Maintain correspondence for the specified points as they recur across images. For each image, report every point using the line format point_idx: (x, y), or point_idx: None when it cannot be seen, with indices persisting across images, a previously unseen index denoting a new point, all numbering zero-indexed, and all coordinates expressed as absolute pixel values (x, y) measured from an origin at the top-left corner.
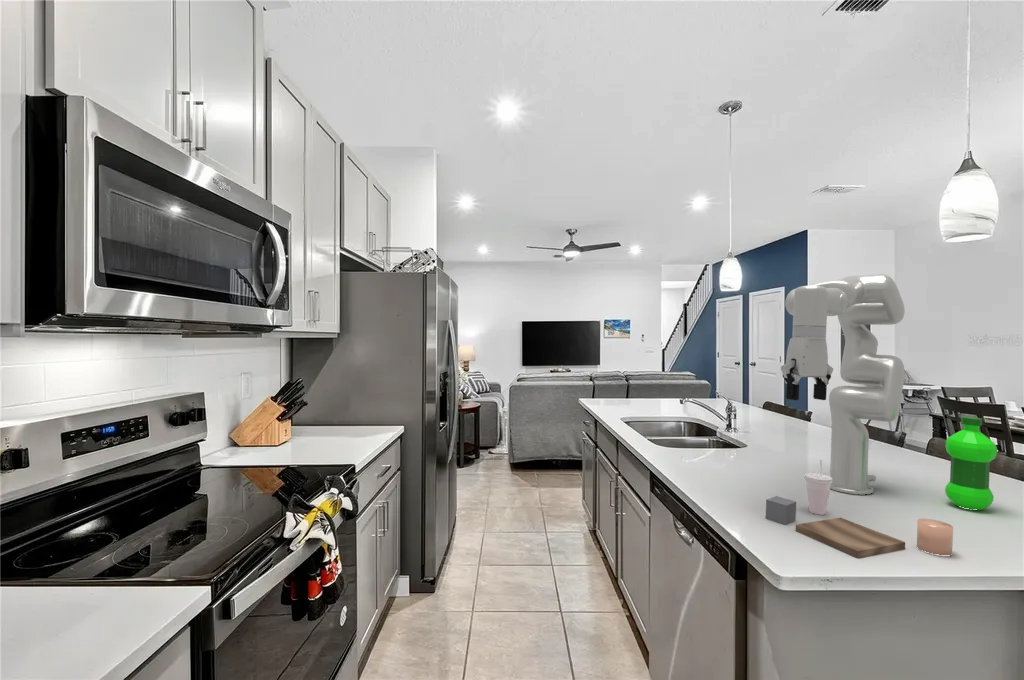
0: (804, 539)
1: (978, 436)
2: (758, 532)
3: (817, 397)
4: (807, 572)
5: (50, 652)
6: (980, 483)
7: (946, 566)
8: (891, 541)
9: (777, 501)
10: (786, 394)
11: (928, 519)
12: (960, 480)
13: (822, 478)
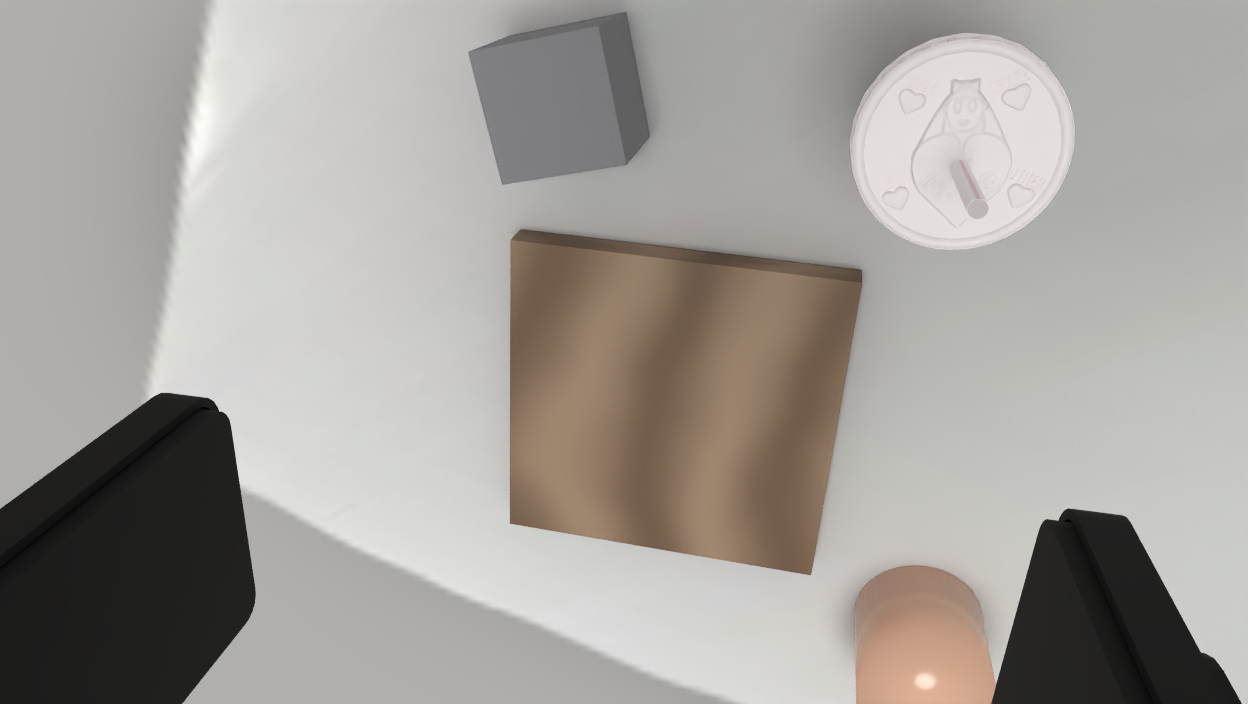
0: (472, 311)
1: None
2: (321, 163)
3: (1032, 622)
4: (241, 478)
5: None
6: None
7: (777, 679)
8: (757, 545)
9: (508, 111)
10: (115, 431)
11: (971, 675)
12: None
13: (926, 202)
